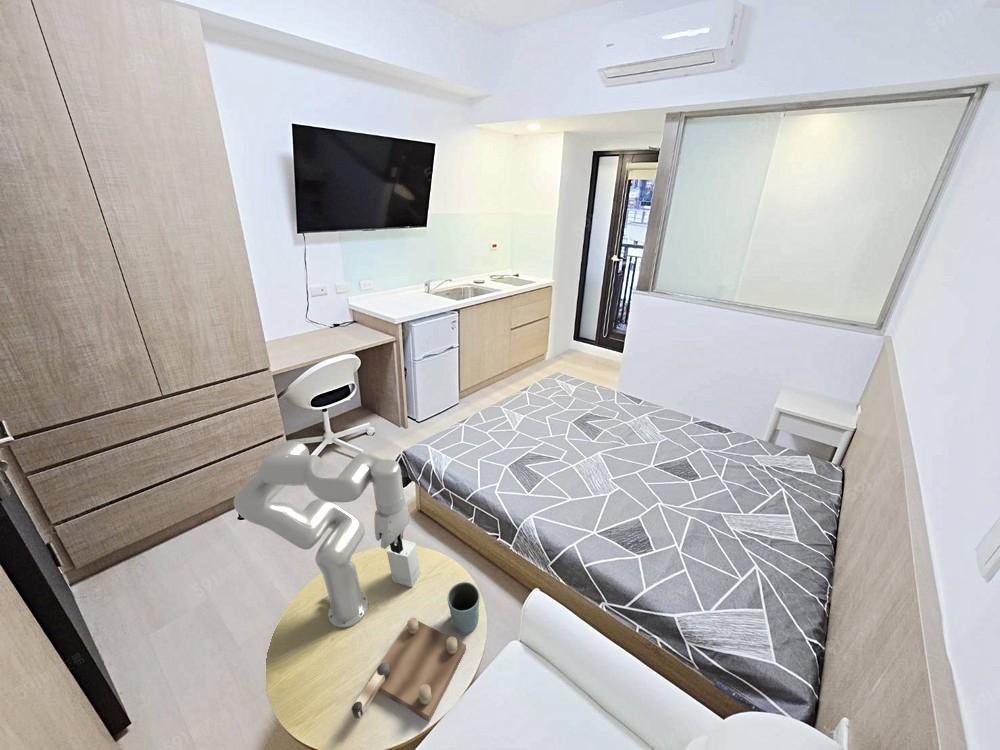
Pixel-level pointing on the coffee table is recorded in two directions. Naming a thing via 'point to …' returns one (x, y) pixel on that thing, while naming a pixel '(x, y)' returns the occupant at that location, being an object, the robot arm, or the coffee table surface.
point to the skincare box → (404, 564)
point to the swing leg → (370, 690)
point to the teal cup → (464, 607)
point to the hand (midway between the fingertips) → (397, 550)
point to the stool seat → (421, 667)
